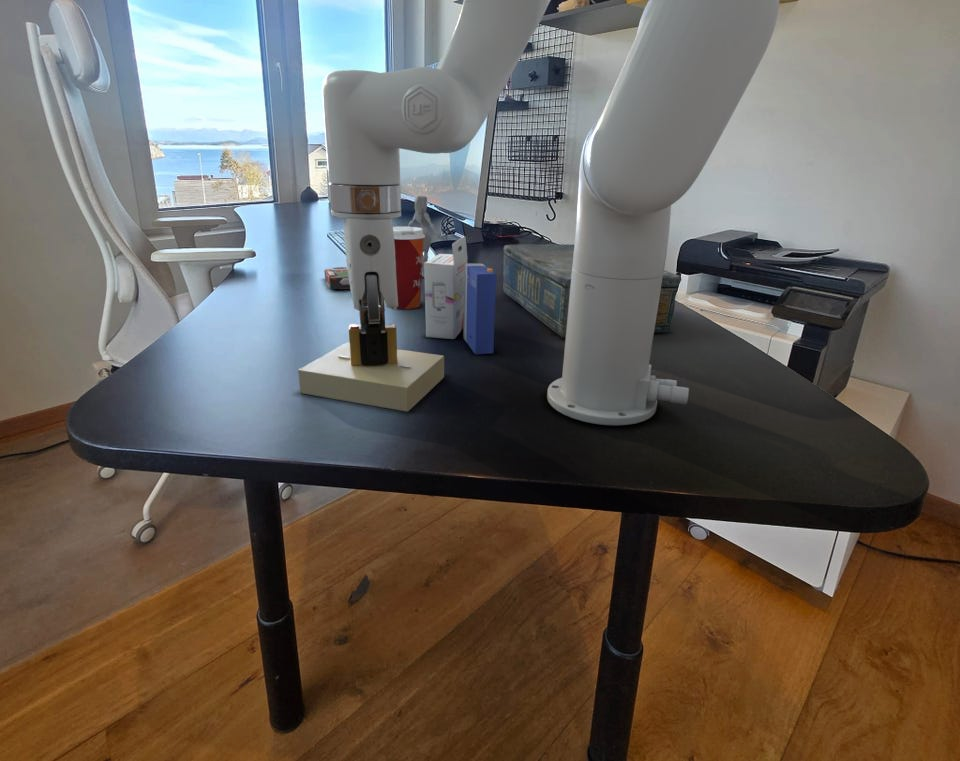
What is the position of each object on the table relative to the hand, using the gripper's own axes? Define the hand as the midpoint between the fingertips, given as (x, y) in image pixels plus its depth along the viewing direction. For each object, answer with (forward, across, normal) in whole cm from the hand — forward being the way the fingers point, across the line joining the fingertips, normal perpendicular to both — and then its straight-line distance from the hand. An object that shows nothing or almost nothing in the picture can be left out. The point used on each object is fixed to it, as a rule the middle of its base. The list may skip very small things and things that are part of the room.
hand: (374, 359), depth 66 cm
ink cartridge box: (+4, +20, -13) cm, 24 cm away
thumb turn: (0, 0, 0) cm, 0 cm away
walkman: (+4, +12, -16) cm, 21 cm away
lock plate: (+3, 0, 0) cm, 3 cm away
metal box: (+4, +29, -39) cm, 49 cm away
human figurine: (+4, +62, -14) cm, 63 cm away
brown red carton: (+4, +57, +3) cm, 58 cm away
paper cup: (+4, +38, -8) cm, 38 cm away
